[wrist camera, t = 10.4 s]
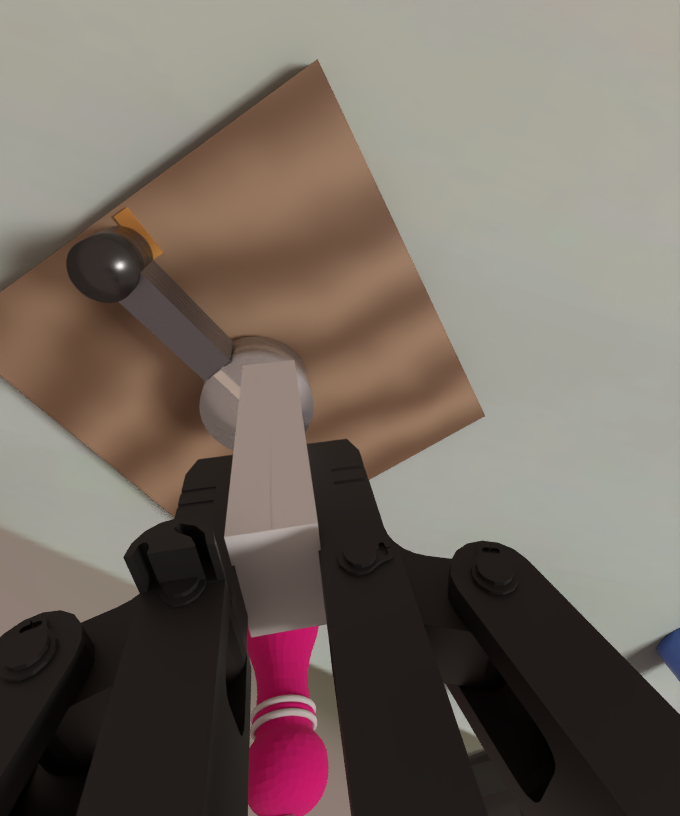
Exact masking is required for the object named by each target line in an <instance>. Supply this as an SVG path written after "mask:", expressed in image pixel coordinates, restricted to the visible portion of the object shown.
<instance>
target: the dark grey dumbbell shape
mask: <svg viewBox="0 0 680 816" xmlns="http://www.w3.org/2000/svg"><path fill="white" fill-rule="evenodd" d="M66 268H67V272H68V275H69V278H70V280H71V281H72V283H73V284H74V286H75V287H76V288H77V289H78V290H79V291H80V292H81V293H82V294H84V295H85V296H87V297H88V298H90V299H92V300H95V301H98V302H103V303H115V302H119V303H120V304H121V305H122V306H123V307H124V308H125V309H127V310H128V311H129V312H130V313H131V314H132V315H133V316H134V317H135V318H136V319H137V320H139V321H140V322H141V323H142V324H143V325H144V326H145V327H146V328H147V329H148V330H149V331H151V332H152V333H153V334H154V335H155V336H156V337H157V338H158V339H159V340H160V341H161V342H163V343H164V344H165V345H166V346H167V347H168V348H169V349H170V350H171V351H172V352H173V353H175V354H176V355H177V356H178V357H179V358H180V359H181V360H182V361H183V362H184V363H186V364H187V365H188V366H189V367H190V368H191V369H192V370H193V371H194V372H195V373H196V374H198V375H199V376H200V377H201V378H202V379H203V380H204V385H203V389H202V393H201V397H200V405H199V408H200V415H201V419H202V422H203V424H204V426H205V428H206V429H207V431H208V432H209V434H210V435H211V436H212V437H213V438H214V439H215V440H216V441H218V442H219V443H220V444H222V445H223V446H225V447H227V448H229V449H231V450H233V451H234V442H235V433H236V424H237V415H238V406H239V397H240V387H241V378H242V369H243V365H252V364H262V363H271V362H280V361H289V360H295V367H296V374H297V381H298V388H299V395H300V402H301V409H302V416H303V423H304V430H305V432H306V430H307V429H308V427H309V425H310V423H311V420H312V417H313V411H314V403H313V397H312V392H311V387H310V382H309V377H308V372H307V369H306V366H305V364H304V362H303V360H302V359H301V357H300V356H299V355H298V354H297V353H296V352H295V351H294V350H293V349H292V348H291V347H289V346H288V345H286V344H285V343H283V342H281V341H278V340H276V339H272V338H269V337H262V336H251V337H244V338H240V339H237V340H235V341H232V340H231V339H230V338H229V337H228V336H227V335H226V334H225V333H224V332H223V330H222V329H221V328H220V327H219V326H218V325H217V324H216V323H215V322H214V321H213V320H212V319H211V318H210V317H209V316H208V315H207V314H206V313H205V312H204V311H203V310H202V309H201V308H200V307H199V306H198V305H197V304H196V303H195V302H194V301H193V300H192V299H191V298H190V297H189V296H188V295H187V294H186V293H185V292H184V291H183V290H182V289H181V287H180V286H179V285H178V284H177V283H176V282H175V281H174V280H173V279H172V278H171V277H170V276H169V275H168V274H167V273H166V272H165V271H164V270H163V269H162V268H161V267H160V266H159V265H158V264H157V263H156V262H155V261H154V260H153V253H152V250H151V247H150V245H149V244H148V242H147V241H146V239H145V238H144V237H143V236H142V235H141V234H139V233H138V232H137V231H135V230H133V229H131V228H128V227H125V226H112V227H108V228H106V229H104V230H102V231H100V232H98V233H96V234H94V235H92V236H90V237H88V238H86V239H84V240H82V241H80V242H78V243H76V244H75V245H74V246H73V247H72V248H71V249H70V251H69V253H68V255H67V259H66Z"/></svg>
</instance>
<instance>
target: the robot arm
mask: <svg viewBox="0 0 680 816" xmlns="http://www.w3.org/2000/svg"><path fill="white" fill-rule="evenodd" d="M181 492H182V494H180V498H179V502H178V508H177V510H176V514H175V518H174V519H173V520H169V521H166V522H162V523H160V524H158V525H156V526H154V527H152V528H150V529H148V530H147V531H145V532H144V533H143V534H141V535H140V536H139V537H138V538H137V539H136V540H135V541H134V542H133V543H132V544H131V545H130V547H129V549H128V550H127V552H126V554H125V555H124V557H123V558H124V560H125V562H126V564H127V566H128V568H129V571H130V573H131V575H132V577H133V579H134V582H135V584H136V586H137V588H138V590H139V592H140V594H139V595H137V596H136V597H134V598H133V599H132V600H130V601H128V602H126V603H124V604H123V605H121V606H119V607H117V608H115V609H112V610H110V611H107V612H105V613H103V614H100V615H98V616H96V617H93V618H91V619H89V620H87V621H84V622H82V623H80V622H79V620H78V619H77V618H76V616H75V615H74V614H71V613H68V612H64V611H61V610H60V611H52V612H44V613H41V614H38V615H36V616H33V617H31V618H29V619H26V620H24V621H23V622H21V623H19V624H18V625H16V626H15V627H13V628H12V629H10V630H9V631H7V632H6V633H4V634H3V635H2V636H1V637H0V816H248V780H249V740H250V737H249V736H250V700H251V699H250V698H251V665H250V659H249V655H248V651H247V634H248V627H249V631H250V635H251V637H256V636H262V635H268V634H274V633H279V632H285V631H291V630H297V629H302V628H308V627H314V626H320V625H325V624H327V629H328V636H329V645H330V654H331V663H332V672H333V677H334V685H335V692H336V700H337V708H338V716H339V724H340V731H341V740H342V747H343V755H344V763H345V770H346V779H347V786H348V794H349V802H350V810H351V816H680V714H679V713H678V712H677V711H676V710H675V709H674V708H673V707H672V706H671V705H670V704H669V703H668V702H667V701H666V700H665V699H664V698H663V697H662V696H661V695H660V694H659V693H658V692H657V691H656V690H655V689H654V688H653V687H652V686H651V685H650V684H649V683H648V682H647V681H646V680H645V679H644V678H643V677H642V676H641V675H640V674H639V673H638V672H637V671H636V670H635V669H634V668H633V667H632V666H631V665H630V663H629V662H628V661H627V660H626V659H625V658H624V657H623V656H622V655H621V654H620V653H619V652H618V651H617V650H616V649H615V648H614V647H613V646H612V645H611V644H610V643H609V642H608V641H607V640H606V639H605V638H604V637H603V636H602V635H601V634H600V633H599V632H598V631H597V630H596V629H595V628H594V627H593V626H592V625H591V624H590V623H589V622H588V621H587V620H586V619H585V618H584V617H583V616H582V615H581V614H580V613H579V612H578V611H577V610H576V609H575V608H574V607H573V606H572V604H571V603H570V602H569V601H568V600H567V599H566V598H565V597H564V596H563V595H562V594H561V593H560V592H559V591H558V590H557V589H556V588H555V587H554V586H553V585H552V584H551V583H550V582H549V581H548V580H547V579H546V578H545V577H544V576H543V575H542V574H541V573H540V572H539V571H538V570H537V569H536V568H535V567H534V566H533V565H532V564H531V563H530V562H529V561H528V560H527V559H526V558H525V557H523V556H522V555H521V554H519V553H518V552H517V551H515V550H514V549H512V548H510V547H507V546H505V545H502V544H500V543H496V542H488V541H478V542H473V543H468V544H466V545H464V546H463V547H461V548H460V549H458V550H457V551H456V552H455V554H454V556H453V558H452V559H448V558H440V557H432V556H425V555H421V554H416V553H413V552H411V551H408V550H406V549H404V548H402V547H401V546H399V545H398V544H396V543H395V542H394V541H393V540H392V539H391V538H390V537H389V535H388V534H387V532H386V530H385V528H384V526H383V523H382V520H381V517H380V513H379V510H378V507H377V504H376V501H375V498H374V495H373V492H372V489H371V485H370V482H369V480H368V476H367V473H366V470H365V468H364V464H363V461H362V457H361V454H360V451H359V449H357V448H356V447H355V446H354V445H353V444H352V443H351V442H350V441H349V440H348V439H340V440H332V441H324V442H317V443H309V444H306V437H305V430H304V423H303V416H302V409H301V402H300V395H299V388H298V381H297V374H296V367H295V360H289V361H280V362H271V363H262V364H252V365H243V369H242V378H241V387H240V397H239V406H238V415H237V424H236V433H235V442H234V451H233V455H227V456H219V457H212V458H204V459H198V460H197V461H196V462H195V464H194V465H193V466H192V467H191V468H190V470H189V471H188V472H187V473H186V475H185V478H184V482H183V486H182V490H181ZM443 682H444V683H446V685H447V687H448V689H449V690H450V692H451V694H452V695H453V697H454V699H455V700H456V702H457V704H458V706H459V707H460V709H461V711H462V712H463V714H464V716H465V717H466V719H467V721H468V722H469V724H470V726H471V728H472V729H473V731H474V733H475V734H476V736H477V738H478V739H479V741H480V743H481V745H482V746H483V748H482V749H479V750H475V751H472V752H468V753H467V751H466V749H465V745H464V743H463V740H462V737H461V734H460V731H459V728H458V725H457V722H456V719H455V716H454V713H453V710H452V707H451V704H450V701H449V698H448V695H447V692H446V689H445V686H444V683H443Z"/></svg>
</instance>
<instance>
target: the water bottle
mask: <svg viewBox="0 0 680 816" xmlns="http://www.w3.org/2000/svg"><path fill="white" fill-rule="evenodd" d="M657 653H658V655H659V656H660V657H661V658H662V660H663V661H664V662H665V663H666V665H667V666H668V667H669V669H670V670H671V671H672V672H673V674H674V675H675V676H676V677H677V679H678V680H679V681H680V628H679V629H677V630H675V631H673V632H672V633H670V634H669V635H668V636H666V637H665V638H664V639H663V640H662V641H661V642H660V643H659V645H658V647H657Z"/></svg>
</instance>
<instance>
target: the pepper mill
mask: <svg viewBox="0 0 680 816" xmlns="http://www.w3.org/2000/svg"><path fill="white" fill-rule="evenodd" d="M317 632H318V626H314V627H308V628H302V629H297V630H291V631H285V632H279V633H274V634H268V635H262V636H256V637H251V635H250V631H249V627H248V634H247V651H248V655H249V657H250V659H251V662H252V665H253V667H254V671H255V676H256V681H257V706H256V708H254V710H253V711H252V714H251V722H252V726H251V730H250V734H251V737H252V738H253V739H254V742H253V744H252V745H251V747H250V748H249V780H248V805H249V806H250V808H251V809H252V811H253V812H254V813H256V814H257V815H258V816H304V815H305V814H307V813H308V812H309V811H311V810H312V809H313V808H314V807H315V806H316V805H317V803H318V802H319V800H320V799H321V797H322V795H323V793H324V790H325V787H326V784H327V779H328V757H327V750H326V748H325V745H324V743H323V741H322V739H321V738H320V737H319V736H318V735H317V734H316V733H315V731H314V730H315V729H316V727H317V718H316V716H315V713H316V706H315V704H314V703H313V701H312V700H311V699H310V698H309V690H308V667H309V660H310V656H311V652H312V649H313V646H314V643H315V640H316V636H317Z"/></svg>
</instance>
